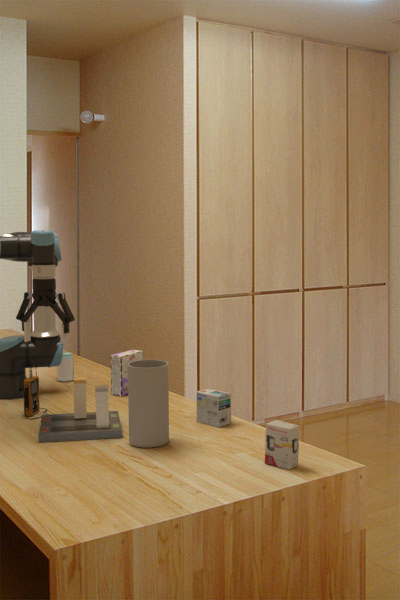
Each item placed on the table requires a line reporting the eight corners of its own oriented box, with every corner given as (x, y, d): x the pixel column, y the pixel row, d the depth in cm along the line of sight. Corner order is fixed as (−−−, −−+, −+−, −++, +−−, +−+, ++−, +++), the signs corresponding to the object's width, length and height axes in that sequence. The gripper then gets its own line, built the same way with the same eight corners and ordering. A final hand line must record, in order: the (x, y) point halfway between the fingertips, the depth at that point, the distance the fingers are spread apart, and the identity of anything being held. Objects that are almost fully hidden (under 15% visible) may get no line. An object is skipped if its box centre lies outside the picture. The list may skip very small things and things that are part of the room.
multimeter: (46, 420, 242) (44, 364, 240) (19, 419, 244) (17, 363, 242) (62, 409, 256) (61, 356, 254) (37, 408, 258) (35, 355, 256)
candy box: (133, 388, 289) (132, 348, 287) (144, 390, 285) (143, 350, 283) (110, 394, 277) (109, 354, 276) (121, 397, 274) (120, 355, 272)
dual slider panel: (42, 421, 241) (41, 377, 239) (118, 417, 245) (117, 374, 243) (38, 442, 218) (37, 393, 216) (122, 437, 223) (121, 389, 221)
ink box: (263, 463, 199) (264, 423, 197) (273, 459, 202) (274, 419, 201) (289, 470, 193) (290, 429, 192) (299, 465, 197) (300, 425, 195)
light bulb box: (232, 423, 238) (232, 392, 236) (218, 428, 233) (218, 396, 232) (208, 417, 245) (208, 387, 244) (195, 421, 240) (195, 391, 239)
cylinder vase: (138, 451, 210) (137, 369, 207) (123, 439, 221) (121, 362, 218) (175, 444, 215) (175, 365, 213) (159, 433, 226) (158, 358, 224)
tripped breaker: (74, 415, 238) (73, 377, 237) (86, 414, 239) (85, 377, 237) (74, 418, 234) (73, 380, 233) (86, 418, 235) (85, 379, 234)
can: (55, 382, 300) (54, 354, 298) (60, 378, 307) (60, 351, 305) (70, 382, 298) (70, 355, 297) (76, 379, 305) (75, 352, 304)
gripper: (4, 278, 227) (6, 342, 229) (73, 279, 220) (74, 345, 222) (16, 276, 234) (18, 338, 237) (83, 277, 227) (85, 342, 229)
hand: (45, 342), depth 229 cm, fingers open, 13 cm apart
